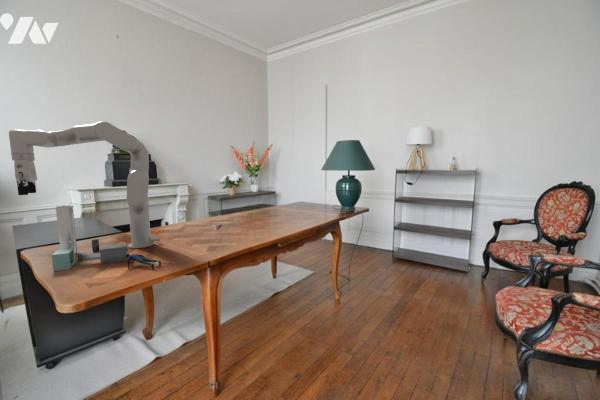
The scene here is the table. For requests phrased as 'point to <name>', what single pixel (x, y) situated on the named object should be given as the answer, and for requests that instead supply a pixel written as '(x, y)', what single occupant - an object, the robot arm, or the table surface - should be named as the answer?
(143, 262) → the person figurine
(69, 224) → the grey cylinder
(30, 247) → the table surface
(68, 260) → the socket block
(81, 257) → the slip tube
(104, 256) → the sleeve
